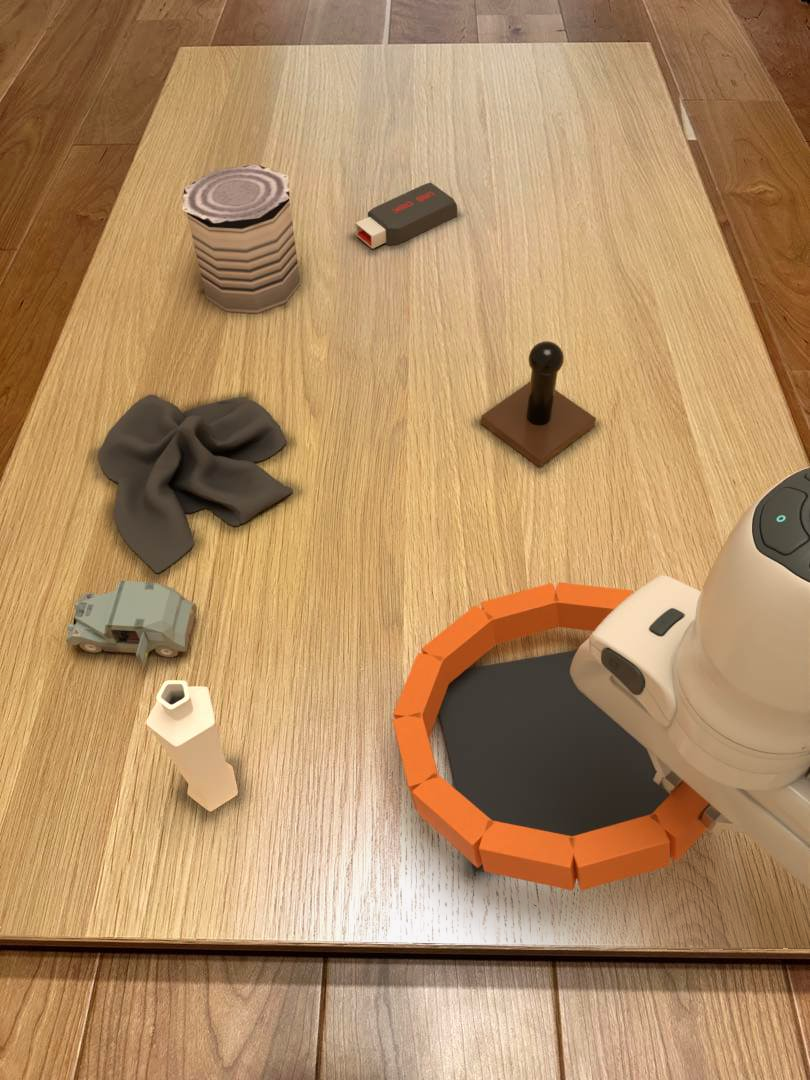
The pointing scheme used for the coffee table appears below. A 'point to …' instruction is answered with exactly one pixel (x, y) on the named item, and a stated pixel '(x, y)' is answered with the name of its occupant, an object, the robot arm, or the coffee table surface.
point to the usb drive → (406, 216)
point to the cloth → (188, 470)
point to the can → (243, 237)
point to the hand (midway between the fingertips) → (691, 800)
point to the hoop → (508, 844)
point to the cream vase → (193, 742)
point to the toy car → (133, 620)
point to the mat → (543, 750)
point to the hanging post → (539, 411)
